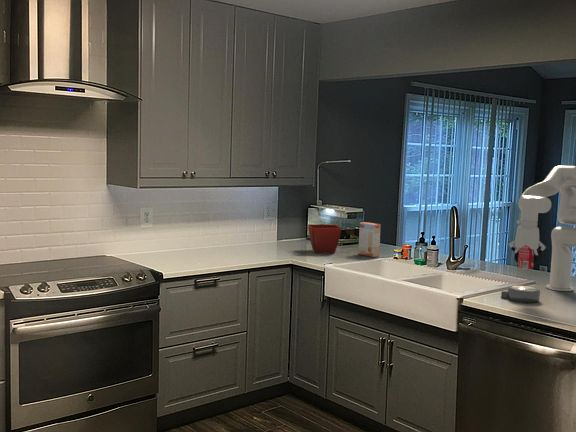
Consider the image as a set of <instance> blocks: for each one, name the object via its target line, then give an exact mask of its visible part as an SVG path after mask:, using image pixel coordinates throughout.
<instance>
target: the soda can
mask: <svg viewBox="0 0 576 432" xmlns="http://www.w3.org/2000/svg"><path fill="white" fill-rule="evenodd" d="M527 245H528V244H525V246H523V247H521V248H519V250H518V262H517V268H518V269H519V270H522V271H532V270H533V269H534V265H535V264H533V261H534V255H535V253H534V250H532V249H531V248H530V247H529V246H527Z"/></svg>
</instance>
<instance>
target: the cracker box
mask: <svg viewBox="0 0 576 432" xmlns="http://www.w3.org/2000/svg"><path fill="white" fill-rule="evenodd" d="M381 230H382V229H381V224H380V223H373V222H368V221H367V222H366V221H364V222H363V221H362V222H361V221H360V222H359V233H358V235H359V236H358V252H357V254H358V255H361V256H365V257H370V258H379V257H380V245H381Z"/></svg>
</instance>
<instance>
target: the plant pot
mask: <svg viewBox="0 0 576 432" xmlns="http://www.w3.org/2000/svg"><path fill="white" fill-rule="evenodd" d="M307 227H308V236H309V239H310V240H309V241H310V245H311V248H312V251H313V252H314V253H317V254H318V253H319V254H321V253H324V254H335V253H336V250H337V247H338V244H339V240H340V237H341V234H342V233H341V232H342V227H341V226H339V225H337V224H308V226H307Z"/></svg>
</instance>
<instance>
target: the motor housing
mask: <svg viewBox="0 0 576 432" xmlns="http://www.w3.org/2000/svg"><path fill="white" fill-rule="evenodd" d="M540 296H541V290H540V289H538V288H535V287H532V286H528V285H527V286H526V285H511V286H508V287H507V290H504V289H503V290H501V296H500V298H501V299H507V300H509V301H510V302H514V303H519V304H528V305H529V304H531V305H533V304H534V305H535V304H539V303H540Z"/></svg>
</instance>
